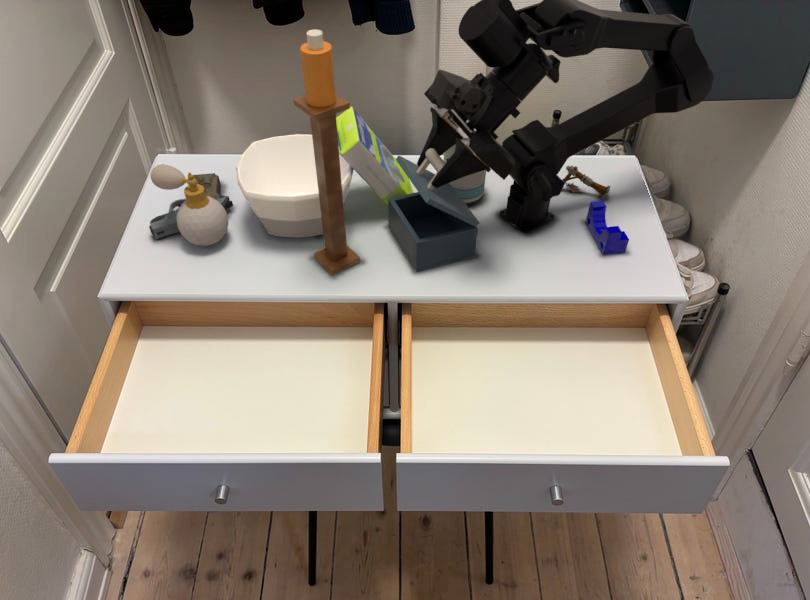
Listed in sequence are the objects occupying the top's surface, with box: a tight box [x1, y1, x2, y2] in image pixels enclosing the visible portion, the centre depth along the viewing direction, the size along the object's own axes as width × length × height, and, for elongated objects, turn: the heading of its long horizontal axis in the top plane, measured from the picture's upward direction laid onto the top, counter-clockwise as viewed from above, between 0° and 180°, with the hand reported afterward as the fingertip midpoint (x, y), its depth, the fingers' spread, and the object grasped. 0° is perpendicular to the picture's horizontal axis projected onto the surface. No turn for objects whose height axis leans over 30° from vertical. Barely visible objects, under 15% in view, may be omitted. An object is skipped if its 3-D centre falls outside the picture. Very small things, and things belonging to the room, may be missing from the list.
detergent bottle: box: [299, 28, 337, 108], centre depth 78 cm, size 4×4×8 cm
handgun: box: [148, 172, 234, 240], centre depth 107 cm, size 2×14×12 cm
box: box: [336, 105, 414, 206], centre depth 103 cm, size 10×4×17 cm
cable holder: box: [584, 200, 630, 256], centre depth 101 cm, size 8×4×4 cm, turn 8°
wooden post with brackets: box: [561, 165, 611, 201], centre depth 109 cm, size 2×8×4 cm, turn 72°
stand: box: [293, 93, 361, 276], centre depth 90 cm, size 5×5×25 cm
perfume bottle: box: [150, 163, 229, 247], centre depth 98 cm, size 8×10×12 cm
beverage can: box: [442, 120, 487, 205], centre depth 106 cm, size 7×7×12 cm
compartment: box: [387, 191, 479, 273], centre depth 100 cm, size 10×12×5 cm
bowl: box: [236, 133, 355, 238], centre depth 103 cm, size 18×18×9 cm
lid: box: [395, 148, 481, 227], centre depth 95 cm, size 10×12×5 cm
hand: (426, 175), depth 93 cm, fingers closed on lid, 5 cm apart
